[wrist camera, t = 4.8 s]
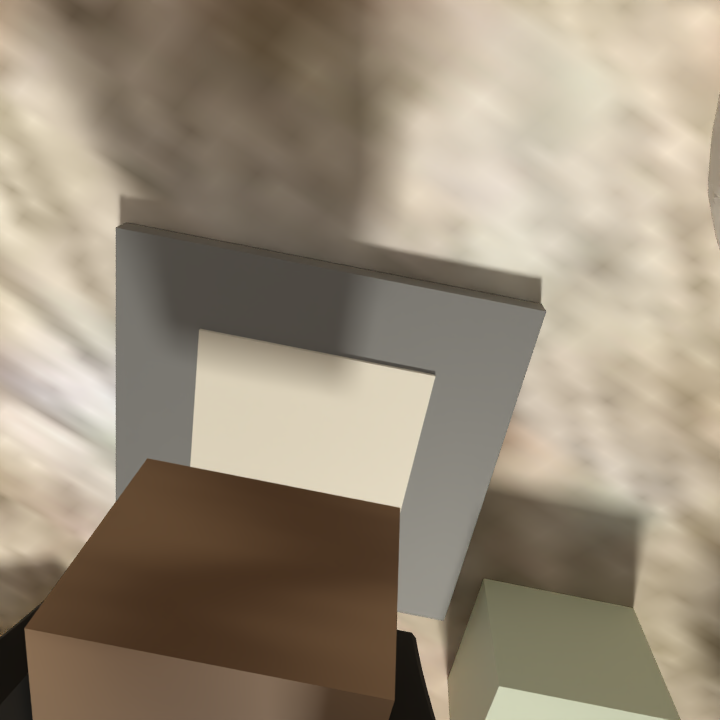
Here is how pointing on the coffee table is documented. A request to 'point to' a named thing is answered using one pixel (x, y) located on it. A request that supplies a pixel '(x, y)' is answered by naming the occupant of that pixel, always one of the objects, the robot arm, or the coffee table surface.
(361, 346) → the grey framed square tile
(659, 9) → the coffee table surface
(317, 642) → the walnut block
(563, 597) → the sage block
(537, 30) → the coffee table surface
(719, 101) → the white animal figure
